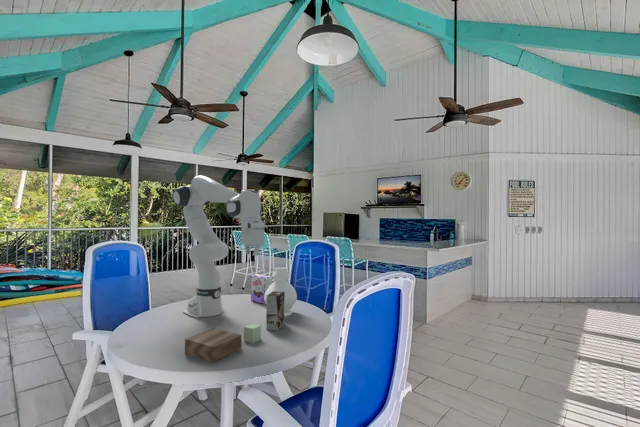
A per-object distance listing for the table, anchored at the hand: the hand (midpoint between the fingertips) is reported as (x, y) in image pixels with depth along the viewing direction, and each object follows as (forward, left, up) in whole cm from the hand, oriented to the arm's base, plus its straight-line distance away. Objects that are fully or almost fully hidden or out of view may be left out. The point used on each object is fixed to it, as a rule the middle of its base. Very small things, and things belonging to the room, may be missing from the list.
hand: (252, 254), depth 143 cm
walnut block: (0, -22, -36) cm, 42 cm away
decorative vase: (-5, +30, -36) cm, 47 cm away
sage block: (+6, -6, -36) cm, 37 cm away
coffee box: (+5, +12, -36) cm, 38 cm away
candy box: (-30, +44, -36) cm, 64 cm away
